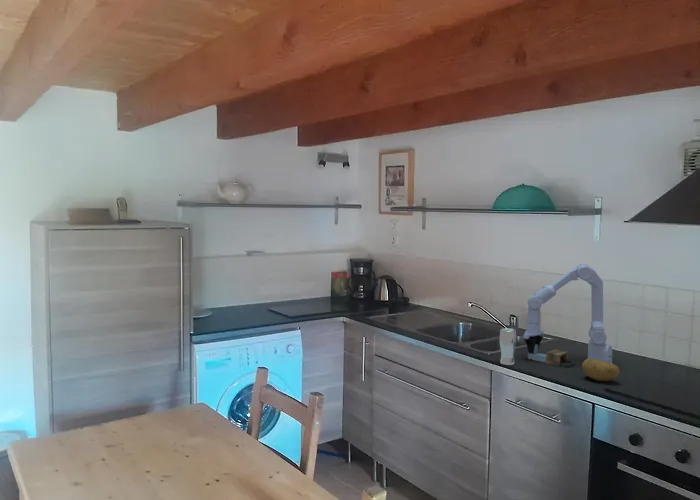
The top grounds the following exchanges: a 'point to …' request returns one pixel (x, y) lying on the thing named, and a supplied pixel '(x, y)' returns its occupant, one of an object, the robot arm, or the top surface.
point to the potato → (600, 370)
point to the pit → (567, 364)
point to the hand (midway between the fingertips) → (533, 352)
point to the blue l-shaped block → (537, 355)
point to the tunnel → (556, 357)
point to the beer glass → (507, 345)
